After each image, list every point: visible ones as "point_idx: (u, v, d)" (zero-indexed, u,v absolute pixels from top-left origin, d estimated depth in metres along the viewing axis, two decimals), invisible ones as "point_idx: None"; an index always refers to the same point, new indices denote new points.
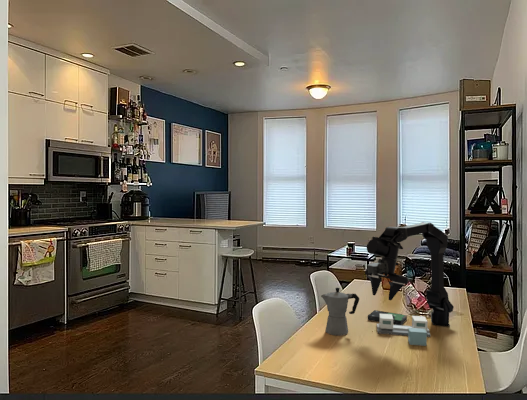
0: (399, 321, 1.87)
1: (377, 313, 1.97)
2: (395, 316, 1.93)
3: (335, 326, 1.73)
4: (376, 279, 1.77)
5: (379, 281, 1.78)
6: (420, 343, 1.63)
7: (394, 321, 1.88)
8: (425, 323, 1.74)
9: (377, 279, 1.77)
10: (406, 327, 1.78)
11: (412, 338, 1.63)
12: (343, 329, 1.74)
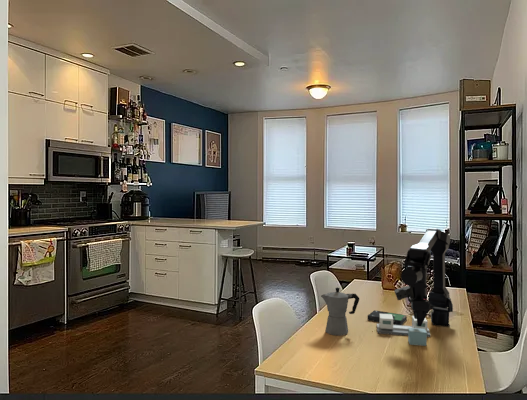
0: (399, 321, 1.87)
1: (377, 313, 1.97)
2: (395, 316, 1.93)
3: (335, 326, 1.73)
4: None
5: None
6: (420, 343, 1.63)
7: (394, 321, 1.88)
8: (425, 323, 1.74)
9: None
10: (406, 327, 1.78)
11: (412, 338, 1.63)
12: (343, 329, 1.74)
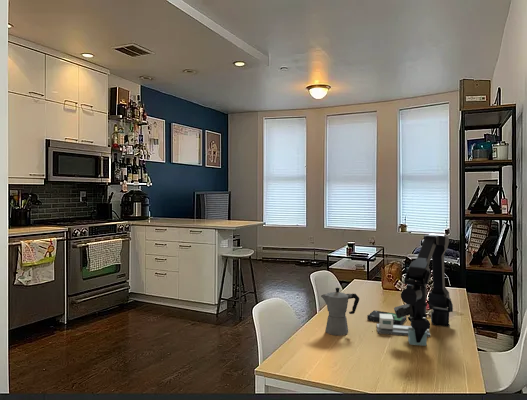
0: (399, 321, 1.87)
1: (377, 313, 1.97)
2: (395, 316, 1.93)
3: (335, 326, 1.73)
4: None
5: None
6: (420, 343, 1.63)
7: (394, 321, 1.88)
8: None
9: None
10: (406, 327, 1.78)
11: (412, 337, 1.63)
12: (343, 329, 1.74)
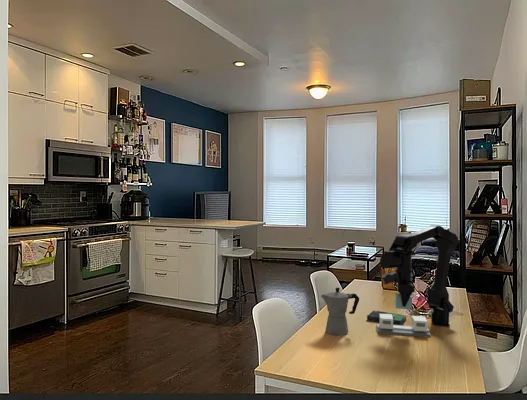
0: (399, 321, 1.86)
1: (376, 313, 1.97)
2: (394, 316, 1.92)
3: (335, 326, 1.73)
4: None
5: None
6: (406, 307, 1.76)
7: (394, 321, 1.87)
8: (425, 323, 1.74)
9: None
10: (406, 327, 1.78)
11: (398, 302, 1.77)
12: (343, 329, 1.74)
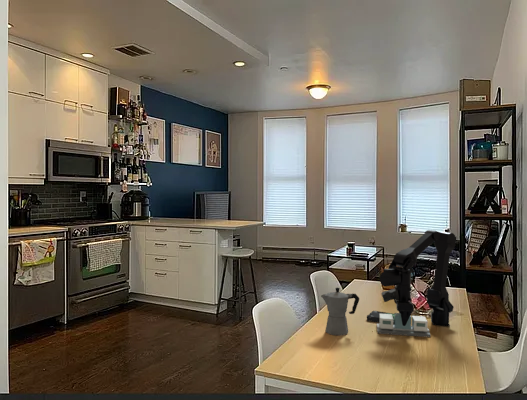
0: None
1: (376, 313, 1.96)
2: (394, 316, 1.92)
3: (335, 326, 1.73)
4: None
5: None
6: (405, 327, 1.76)
7: (393, 321, 1.87)
8: (425, 323, 1.74)
9: None
10: None
11: (397, 322, 1.77)
12: (343, 329, 1.74)
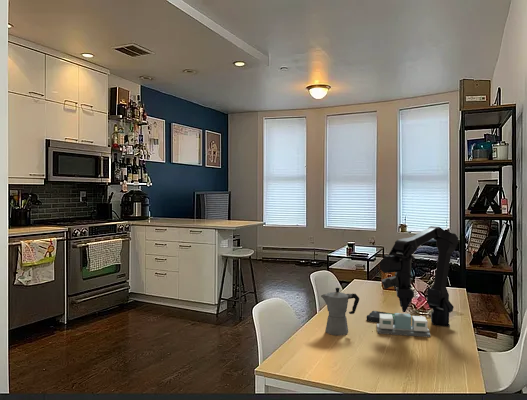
0: None
1: (376, 314, 1.96)
2: (394, 316, 1.92)
3: (335, 326, 1.73)
4: None
5: None
6: (405, 327, 1.76)
7: (393, 322, 1.87)
8: (425, 323, 1.74)
9: None
10: None
11: (397, 322, 1.77)
12: (343, 329, 1.74)
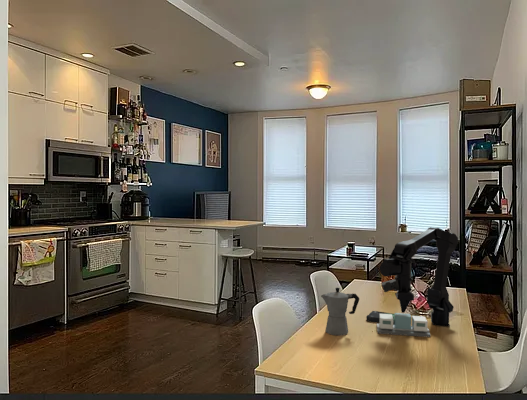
0: None
1: (376, 314, 1.96)
2: (394, 316, 1.92)
3: (335, 326, 1.73)
4: None
5: None
6: (405, 327, 1.76)
7: (393, 322, 1.87)
8: (425, 323, 1.74)
9: None
10: None
11: (397, 322, 1.77)
12: (343, 329, 1.74)
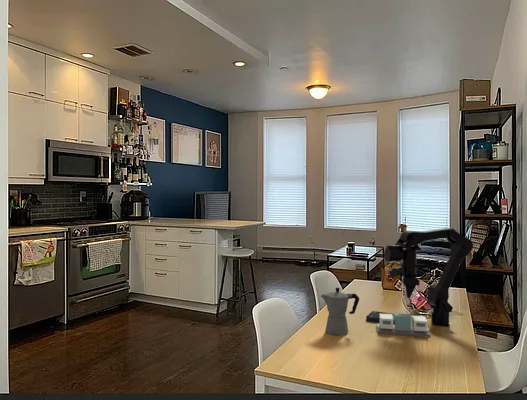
0: None
1: (375, 314, 1.96)
2: (394, 317, 1.92)
3: (335, 326, 1.73)
4: None
5: None
6: (405, 327, 1.76)
7: (393, 322, 1.87)
8: (425, 323, 1.74)
9: None
10: None
11: (397, 322, 1.77)
12: (343, 329, 1.74)
